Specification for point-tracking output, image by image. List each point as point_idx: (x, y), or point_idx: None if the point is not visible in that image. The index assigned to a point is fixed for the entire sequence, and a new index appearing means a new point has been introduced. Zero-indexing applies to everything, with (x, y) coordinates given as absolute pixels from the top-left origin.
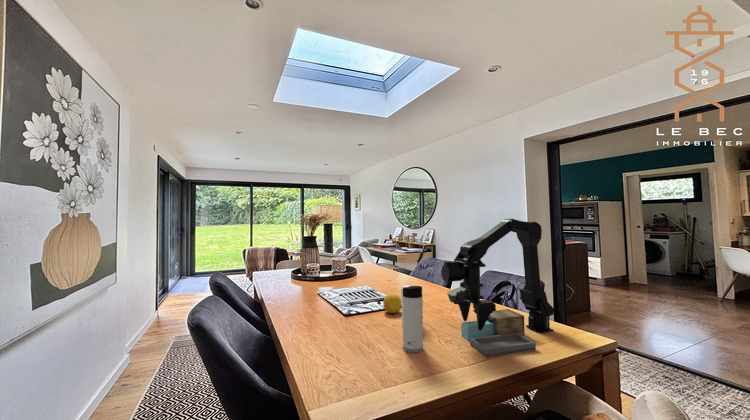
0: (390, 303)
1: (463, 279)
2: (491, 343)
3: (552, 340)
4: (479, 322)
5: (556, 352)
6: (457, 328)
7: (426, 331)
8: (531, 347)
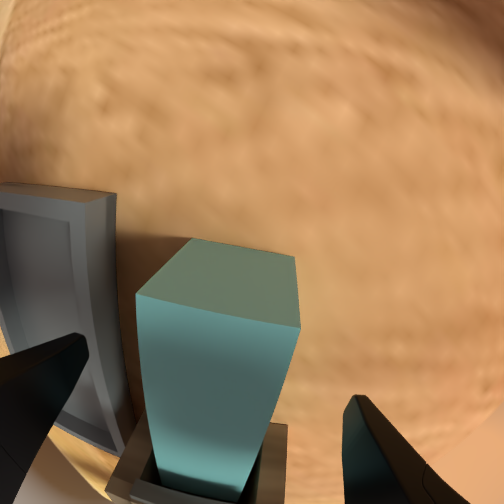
0: None
1: None
2: (74, 316)
3: None
4: (4, 359)
5: None
6: (425, 331)
7: (489, 77)
8: None
